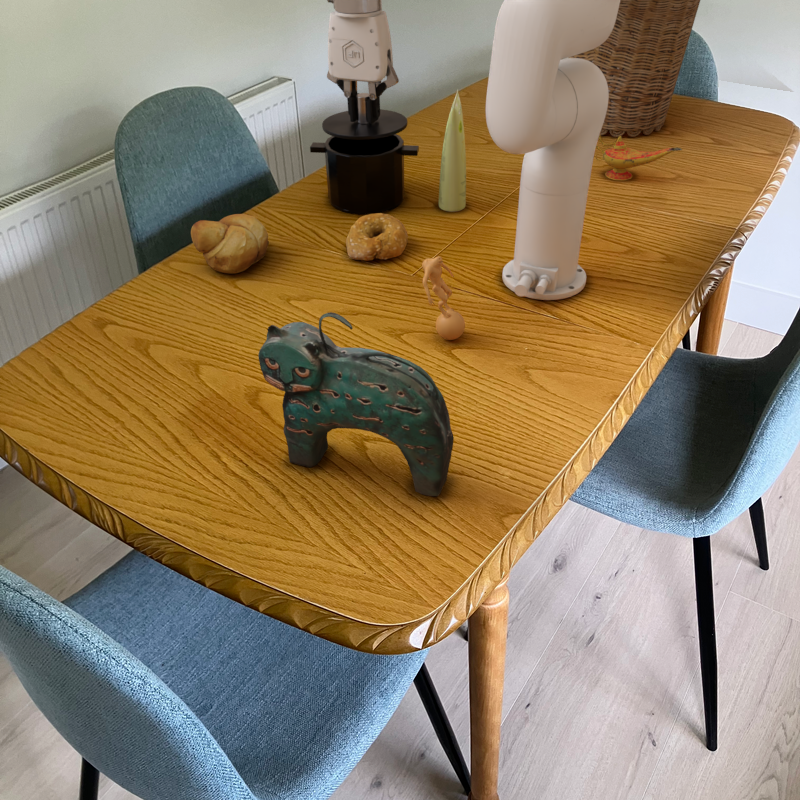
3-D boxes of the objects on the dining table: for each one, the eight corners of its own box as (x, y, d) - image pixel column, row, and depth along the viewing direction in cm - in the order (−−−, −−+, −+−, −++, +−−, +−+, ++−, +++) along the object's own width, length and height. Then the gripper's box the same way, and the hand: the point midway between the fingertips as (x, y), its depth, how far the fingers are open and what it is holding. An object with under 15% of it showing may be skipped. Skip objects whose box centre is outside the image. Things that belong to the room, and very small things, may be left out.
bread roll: (244, 237, 130) (237, 192, 125) (289, 250, 126) (284, 204, 121) (191, 269, 122) (181, 222, 117) (238, 284, 118) (230, 236, 113)
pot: (413, 216, 136) (413, 158, 129) (307, 212, 138) (302, 154, 131) (422, 185, 146) (422, 130, 140) (323, 182, 149) (319, 127, 142)
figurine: (453, 356, 102) (456, 276, 94) (411, 347, 104) (410, 268, 96) (473, 324, 108) (476, 247, 100) (432, 316, 110) (433, 239, 102)
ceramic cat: (271, 465, 86) (246, 312, 73) (297, 430, 90) (278, 280, 78) (440, 510, 80) (443, 352, 68) (458, 469, 85) (465, 315, 72)
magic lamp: (671, 191, 143) (684, 131, 136) (576, 175, 149) (584, 118, 142) (678, 177, 147) (691, 119, 141) (586, 163, 154) (594, 107, 147)
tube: (473, 209, 138) (478, 97, 126) (450, 216, 136) (453, 103, 124) (454, 198, 142) (457, 88, 129) (432, 205, 139) (433, 94, 127)
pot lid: (401, 144, 127) (400, 109, 124) (314, 142, 129) (310, 107, 126) (412, 116, 139) (411, 83, 135) (332, 115, 141) (329, 82, 137)
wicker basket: (717, 148, 159) (761, -34, 138) (547, 150, 160) (566, -31, 139) (672, 96, 186) (703, -62, 166) (527, 98, 187) (541, -59, 167)
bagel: (331, 252, 126) (329, 225, 123) (377, 229, 132) (377, 203, 129) (374, 271, 120) (373, 244, 117) (421, 247, 127) (421, 220, 124)
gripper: (301, 5, 122) (313, 122, 133) (395, 10, 116) (399, 132, 128) (323, -4, 127) (332, 109, 138) (414, 0, 122) (416, 118, 133)
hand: (364, 119), depth 133 cm, fingers closed on pot lid, 2 cm apart
